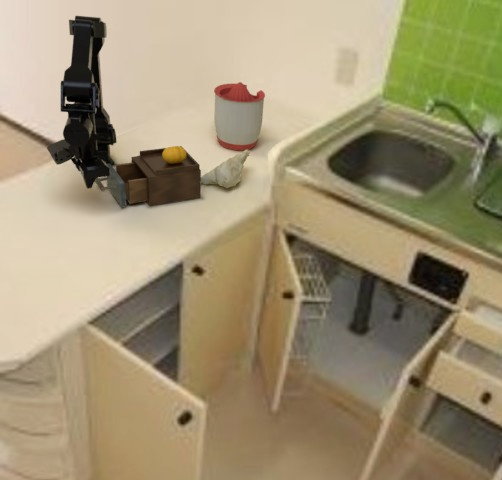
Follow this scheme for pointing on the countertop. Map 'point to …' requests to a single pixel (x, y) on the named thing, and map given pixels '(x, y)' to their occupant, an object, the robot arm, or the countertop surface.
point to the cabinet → (170, 185)
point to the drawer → (126, 183)
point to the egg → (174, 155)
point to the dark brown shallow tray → (163, 168)
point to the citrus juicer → (238, 116)
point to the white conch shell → (227, 171)
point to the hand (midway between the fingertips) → (89, 187)
